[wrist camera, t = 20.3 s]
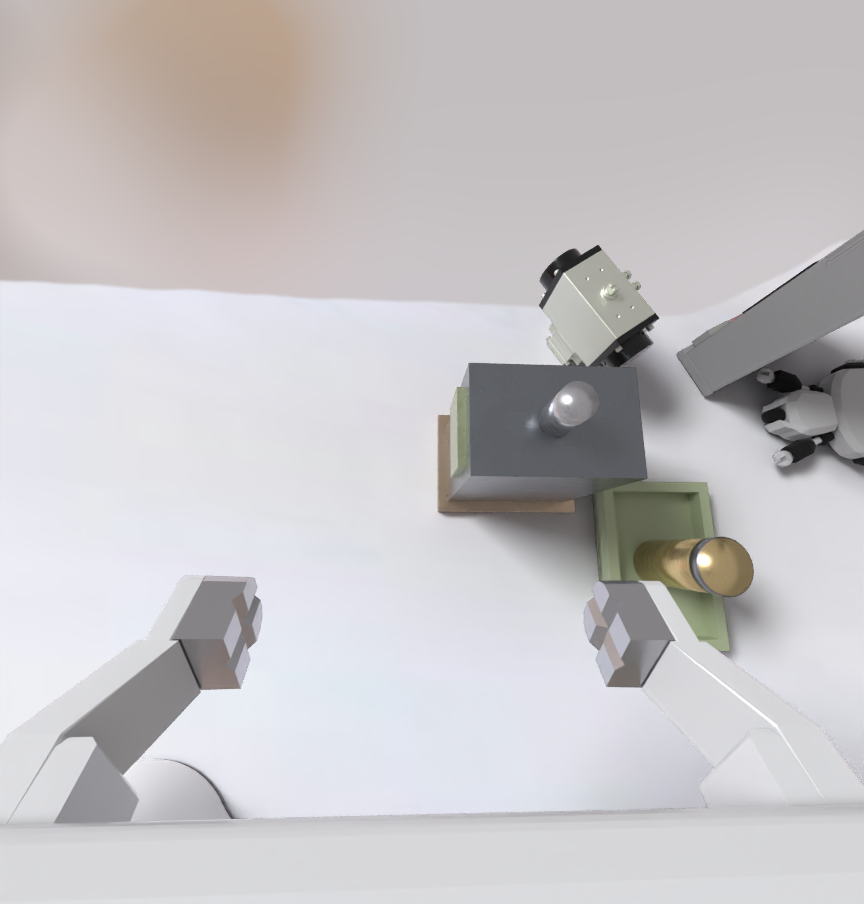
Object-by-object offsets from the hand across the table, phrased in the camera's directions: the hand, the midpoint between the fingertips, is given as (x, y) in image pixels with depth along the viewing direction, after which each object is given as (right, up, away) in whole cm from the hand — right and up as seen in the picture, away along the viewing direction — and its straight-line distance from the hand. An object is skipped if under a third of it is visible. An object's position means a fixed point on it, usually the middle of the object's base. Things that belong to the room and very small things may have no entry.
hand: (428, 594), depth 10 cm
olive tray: (+23, -8, +34) cm, 41 cm away
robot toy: (+44, +7, +39) cm, 59 cm away
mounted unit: (+8, +2, +35) cm, 36 cm away
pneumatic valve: (+16, +16, +39) cm, 45 cm away
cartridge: (+23, -8, +33) cm, 41 cm away
